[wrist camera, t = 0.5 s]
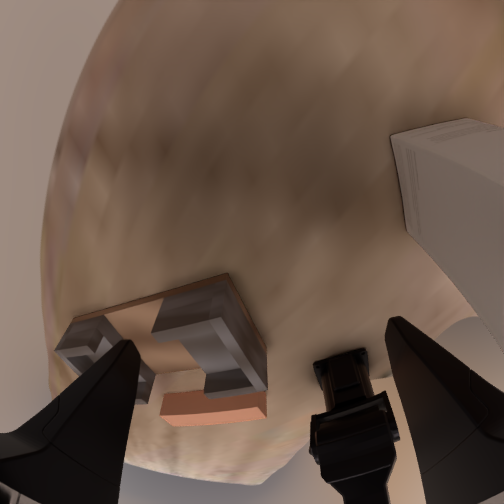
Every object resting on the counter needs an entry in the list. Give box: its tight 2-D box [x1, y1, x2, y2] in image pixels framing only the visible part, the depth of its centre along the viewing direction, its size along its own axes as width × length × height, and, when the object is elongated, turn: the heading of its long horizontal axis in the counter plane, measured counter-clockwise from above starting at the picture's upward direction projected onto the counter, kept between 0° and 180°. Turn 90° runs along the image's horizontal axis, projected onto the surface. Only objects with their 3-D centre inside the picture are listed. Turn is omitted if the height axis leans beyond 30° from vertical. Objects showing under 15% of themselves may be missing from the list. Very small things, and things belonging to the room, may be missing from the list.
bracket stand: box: [54, 273, 268, 404], centre depth 26 cm, size 10×20×6 cm, turn 110°
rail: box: [160, 390, 267, 426], centre depth 33 cm, size 14×4×4 cm, turn 110°
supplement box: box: [390, 118, 504, 353], centre depth 13 cm, size 9×9×15 cm
